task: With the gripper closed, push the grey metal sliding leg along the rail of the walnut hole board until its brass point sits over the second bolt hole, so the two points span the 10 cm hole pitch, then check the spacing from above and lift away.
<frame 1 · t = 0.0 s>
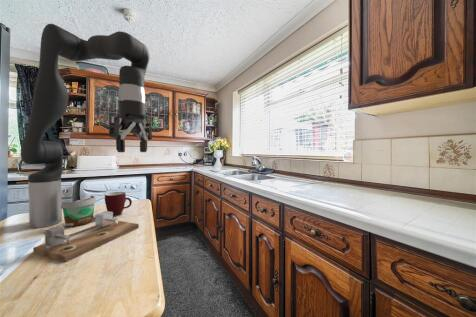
hand: (132, 152, 62), 29 cm above the counter, tool pointing down, fingers open, 8 cm apart
mug: (118, 214, 88), on the counter
food container: (84, 224, 77), on the counter
hole board: (93, 238, 64), on the counter
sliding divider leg: (108, 219, 70), point 4 cm above the counter, slide at 5.0 cm
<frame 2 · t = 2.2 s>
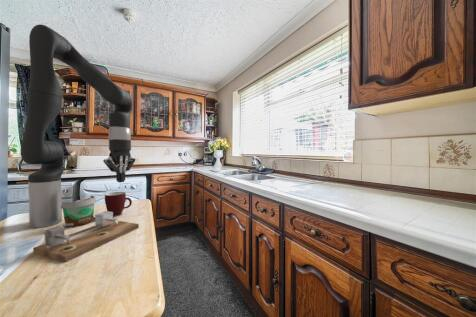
hand: (120, 182, 77), 17 cm above the counter, tool pointing down, fingers closed
nothing on the counter moved.
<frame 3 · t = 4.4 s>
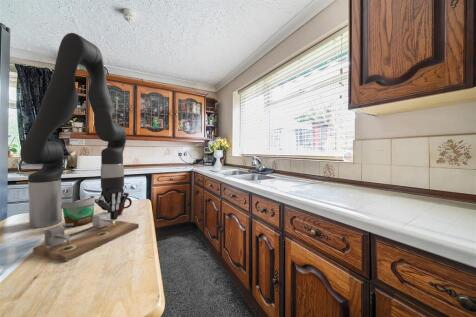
hand: (113, 219, 74), 3 cm above the counter, tool pointing down, fingers closed
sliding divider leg: (106, 220, 69), point 4 cm above the counter, slide at 4.0 cm, touching gripper
everything else where it was.
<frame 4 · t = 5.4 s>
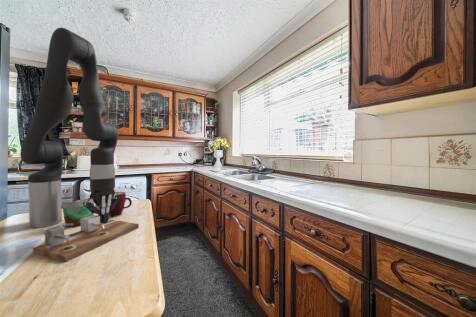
hand: (103, 223, 70), 3 cm above the counter, tool pointing down, fingers closed
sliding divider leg: (95, 224, 65), point 4 cm above the counter, slide at 0.1 cm, touching gripper
everything else where it was.
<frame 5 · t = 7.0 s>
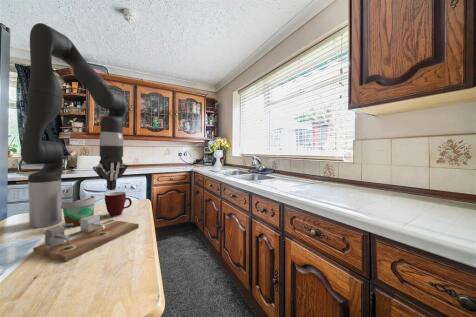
hand: (111, 189, 73), 15 cm above the counter, tool pointing down, fingers closed
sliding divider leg: (95, 224, 65), point 4 cm above the counter, slide at 0.0 cm
everything else where it was.
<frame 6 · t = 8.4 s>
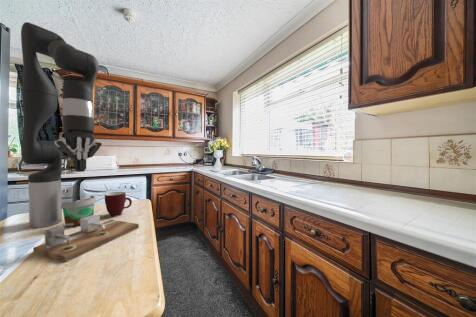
hand: (79, 171, 60), 23 cm above the counter, tool pointing down, fingers closed
nothing on the counter moved.
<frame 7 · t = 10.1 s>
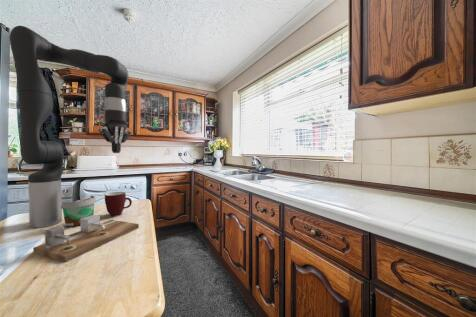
hand: (116, 152, 78), 29 cm above the counter, tool pointing down, fingers closed
nothing on the counter moved.
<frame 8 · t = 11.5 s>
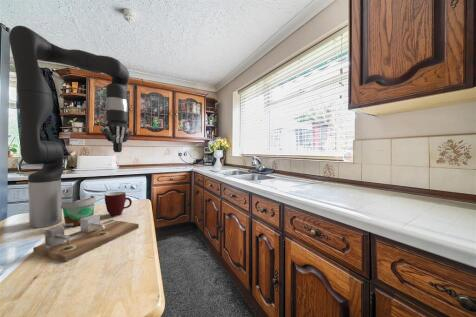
hand: (117, 152, 79), 29 cm above the counter, tool pointing down, fingers closed
nothing on the counter moved.
at the end: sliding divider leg slide at 0.0 cm; food container moved 0.2 cm from its start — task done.
